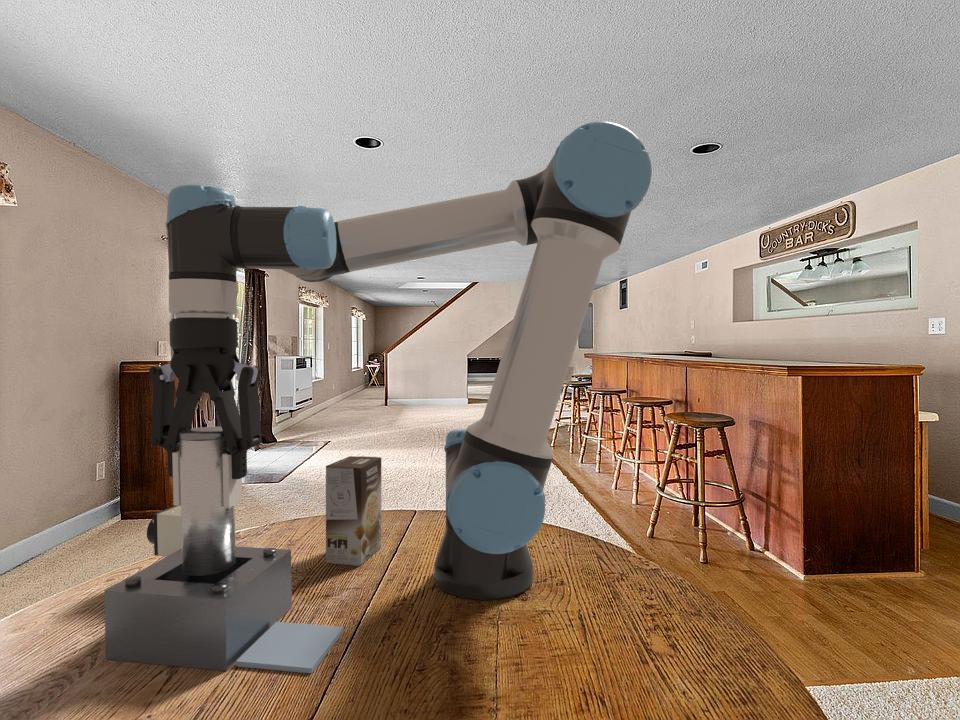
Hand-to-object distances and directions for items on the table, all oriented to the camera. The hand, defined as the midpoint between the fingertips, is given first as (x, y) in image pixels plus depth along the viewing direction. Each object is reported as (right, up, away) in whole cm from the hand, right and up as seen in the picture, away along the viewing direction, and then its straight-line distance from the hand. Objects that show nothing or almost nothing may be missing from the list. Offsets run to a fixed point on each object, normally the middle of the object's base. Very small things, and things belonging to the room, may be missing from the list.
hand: (208, 503), depth 71 cm
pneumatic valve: (-9, -16, +15) cm, 24 cm away
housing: (0, -16, +1) cm, 16 cm away
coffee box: (+12, -16, +26) cm, 33 cm away
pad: (+12, -16, -3) cm, 20 cm away
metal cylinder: (0, -8, 0) cm, 8 cm away
